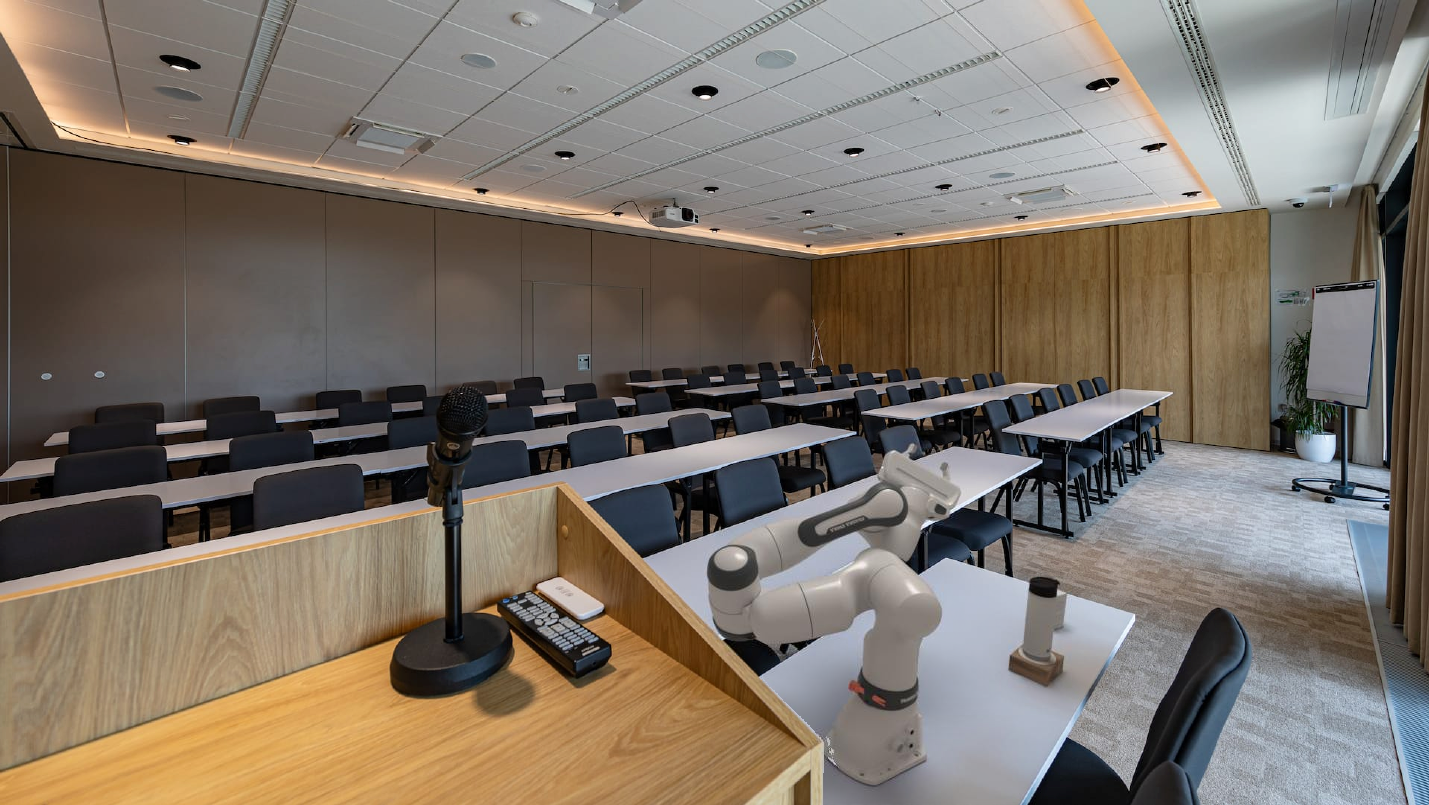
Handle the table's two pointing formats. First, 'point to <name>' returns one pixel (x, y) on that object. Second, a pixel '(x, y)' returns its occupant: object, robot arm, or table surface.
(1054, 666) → the plinth
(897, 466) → the robot arm
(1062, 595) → the small box
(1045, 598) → the travel mug
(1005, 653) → the table surface
